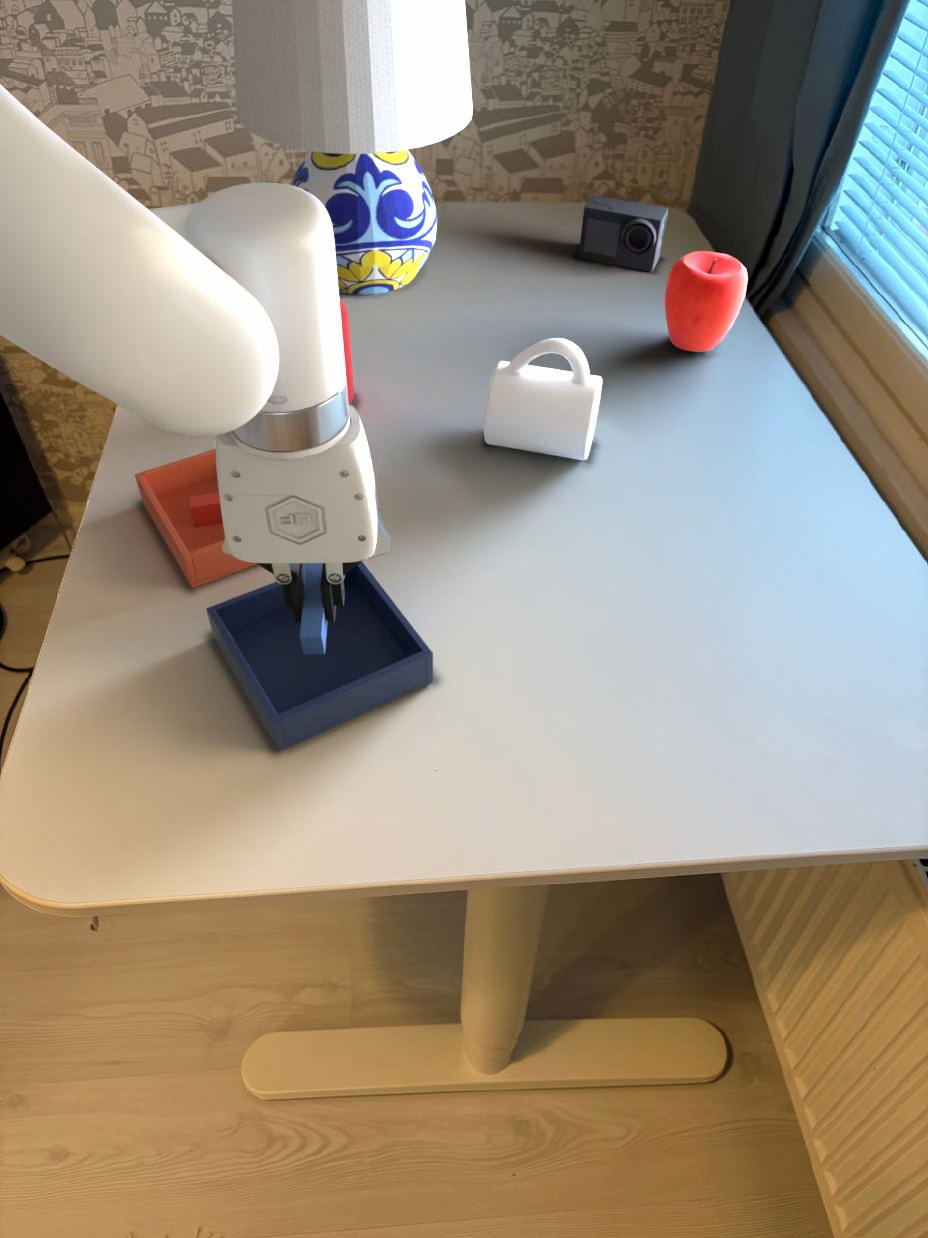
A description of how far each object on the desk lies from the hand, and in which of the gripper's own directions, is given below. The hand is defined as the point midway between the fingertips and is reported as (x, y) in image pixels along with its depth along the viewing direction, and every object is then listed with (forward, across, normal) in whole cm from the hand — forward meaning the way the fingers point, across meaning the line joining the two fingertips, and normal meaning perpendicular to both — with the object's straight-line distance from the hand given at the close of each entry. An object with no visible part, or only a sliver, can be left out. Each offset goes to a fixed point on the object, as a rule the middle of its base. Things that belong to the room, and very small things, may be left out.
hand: (316, 607), depth 69 cm
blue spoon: (+1, 0, +1) cm, 1 cm away
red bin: (+6, -10, +17) cm, 20 cm away
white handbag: (+6, +20, +29) cm, 36 cm away
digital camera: (+7, +34, +70) cm, 79 cm away
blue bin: (+6, 0, 0) cm, 6 cm away
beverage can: (+6, -3, +36) cm, 37 cm away
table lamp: (+6, 0, +67) cm, 67 cm away
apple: (+7, +40, +48) cm, 63 cm away
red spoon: (+5, -8, +17) cm, 20 cm away
